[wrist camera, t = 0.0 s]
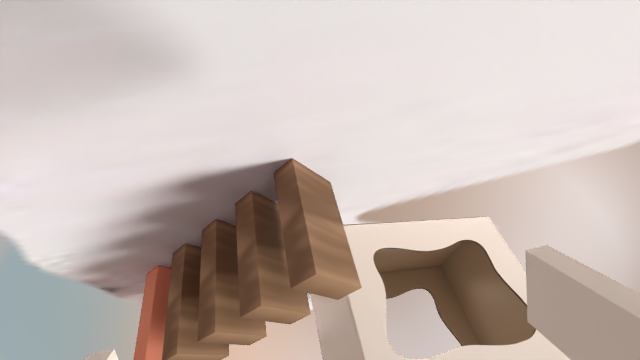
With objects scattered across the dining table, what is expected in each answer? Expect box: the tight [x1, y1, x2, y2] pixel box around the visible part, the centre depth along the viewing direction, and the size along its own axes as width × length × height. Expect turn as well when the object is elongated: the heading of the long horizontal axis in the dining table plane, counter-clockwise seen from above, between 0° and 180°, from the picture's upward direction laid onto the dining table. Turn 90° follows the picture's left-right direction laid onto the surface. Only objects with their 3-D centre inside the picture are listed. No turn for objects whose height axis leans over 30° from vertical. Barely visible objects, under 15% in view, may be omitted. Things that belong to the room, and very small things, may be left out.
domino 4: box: [235, 191, 310, 324], centre depth 26 cm, size 2×5×10 cm, turn 41°
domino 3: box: [197, 219, 266, 345], centre depth 28 cm, size 2×5×10 cm, turn 41°
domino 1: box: [134, 266, 171, 360], centre depth 32 cm, size 2×5×10 cm, turn 41°
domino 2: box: [162, 244, 229, 360], centre depth 30 cm, size 2×5×10 cm, turn 41°
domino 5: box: [274, 158, 362, 300], centre depth 24 cm, size 2×5×10 cm, turn 41°
